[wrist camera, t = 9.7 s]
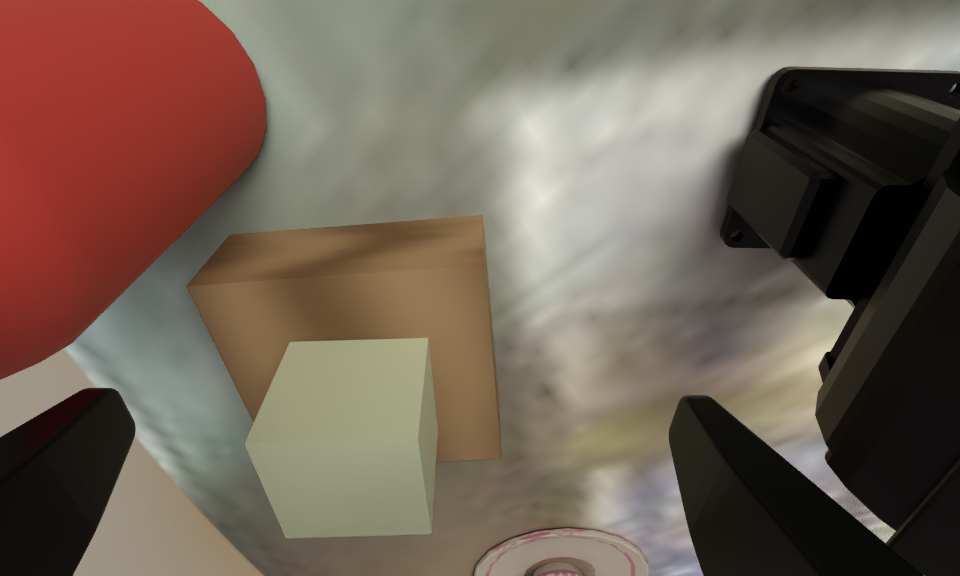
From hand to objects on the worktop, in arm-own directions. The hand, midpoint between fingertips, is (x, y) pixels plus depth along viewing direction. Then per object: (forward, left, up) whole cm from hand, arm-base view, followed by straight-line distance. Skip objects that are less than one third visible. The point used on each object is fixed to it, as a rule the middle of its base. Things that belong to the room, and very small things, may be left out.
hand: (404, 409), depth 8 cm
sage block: (+3, +8, -8) cm, 12 cm away
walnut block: (+3, +8, -12) cm, 15 cm away
